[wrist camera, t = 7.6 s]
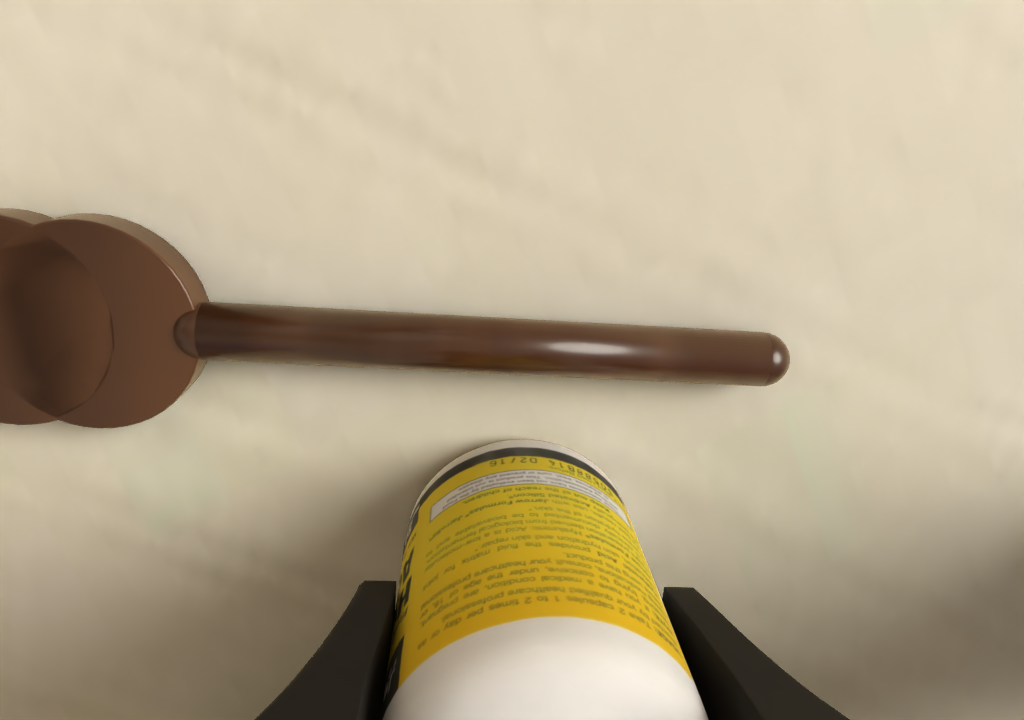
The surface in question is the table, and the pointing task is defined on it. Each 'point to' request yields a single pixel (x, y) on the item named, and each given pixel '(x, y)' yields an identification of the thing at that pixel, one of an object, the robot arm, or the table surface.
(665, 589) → the robot arm
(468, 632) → the supplement bottle
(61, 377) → the walnut spoon
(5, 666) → the table surface
